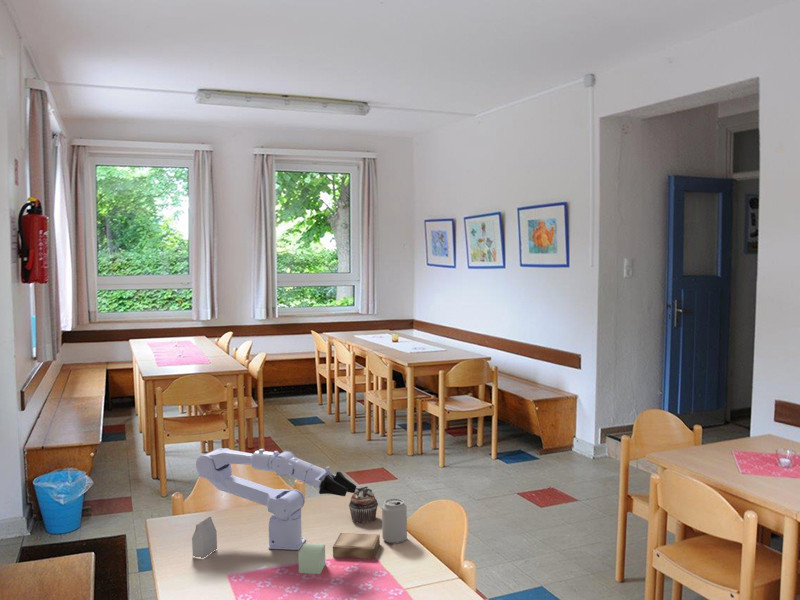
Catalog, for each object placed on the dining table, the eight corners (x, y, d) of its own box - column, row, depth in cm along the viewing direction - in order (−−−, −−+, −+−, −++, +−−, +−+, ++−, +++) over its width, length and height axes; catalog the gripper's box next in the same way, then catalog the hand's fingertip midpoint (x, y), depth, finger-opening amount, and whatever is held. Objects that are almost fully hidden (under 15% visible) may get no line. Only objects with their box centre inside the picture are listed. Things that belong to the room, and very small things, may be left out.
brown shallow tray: (332, 556, 204) (332, 546, 204) (340, 542, 214) (340, 532, 214) (373, 558, 202) (373, 548, 202) (379, 544, 212) (379, 534, 212)
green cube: (298, 573, 194) (298, 552, 194) (304, 563, 200) (304, 543, 200) (320, 574, 193) (319, 553, 193) (325, 564, 199) (324, 544, 199)
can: (404, 545, 211) (403, 506, 210) (380, 543, 213) (379, 504, 212) (409, 535, 219) (408, 497, 218) (385, 534, 220) (384, 496, 219)
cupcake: (343, 517, 234) (342, 488, 233) (367, 511, 240) (367, 482, 239) (359, 526, 226) (358, 496, 226) (384, 519, 232) (383, 489, 231)
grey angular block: (217, 550, 210) (216, 517, 209) (203, 559, 204) (202, 525, 203) (206, 548, 211) (205, 516, 211) (192, 557, 205) (191, 524, 204)
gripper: (304, 463, 202) (346, 480, 198) (323, 459, 216) (363, 475, 212) (296, 486, 202) (338, 504, 198) (316, 481, 216) (355, 498, 212)
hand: (350, 491), depth 205 cm, fingers open, 7 cm apart
